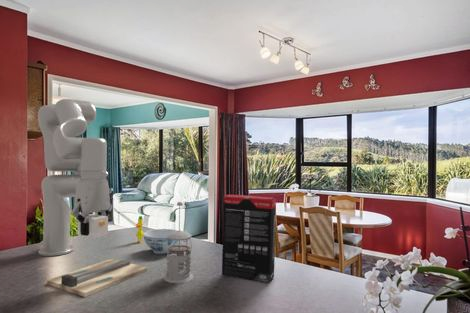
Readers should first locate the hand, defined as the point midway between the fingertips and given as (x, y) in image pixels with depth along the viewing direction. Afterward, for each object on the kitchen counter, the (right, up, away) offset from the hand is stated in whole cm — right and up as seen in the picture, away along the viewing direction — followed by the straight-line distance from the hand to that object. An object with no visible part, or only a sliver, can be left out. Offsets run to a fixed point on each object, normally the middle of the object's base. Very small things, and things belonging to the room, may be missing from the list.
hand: (92, 232), depth 101 cm
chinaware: (+15, -16, +32) cm, 38 cm away
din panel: (+1, -15, +3) cm, 16 cm away
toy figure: (+1, -16, +45) cm, 47 cm away
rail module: (0, -1, 0) cm, 1 cm away
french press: (+27, -16, +4) cm, 32 cm away
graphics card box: (+50, -16, +4) cm, 53 cm away
